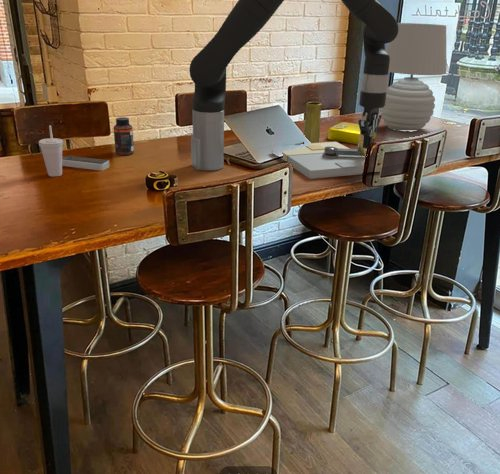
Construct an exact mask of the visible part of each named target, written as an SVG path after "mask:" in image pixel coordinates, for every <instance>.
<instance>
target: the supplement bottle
mask: <svg viewBox="0 0 500 474" xmlns="http://www.w3.org/2000/svg"><path fill="white" fill-rule="evenodd" d="M113 138H114V140H113V141H114V149H115V154H117V155H119V156H129V155H133V154H134V153H135V146H134V144H135V143H134V130H133V126H132V125H131V124H130V119H129V118H128V117H123V116H122V117H121V116H120V117H116V118H115V125H113Z"/></svg>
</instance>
